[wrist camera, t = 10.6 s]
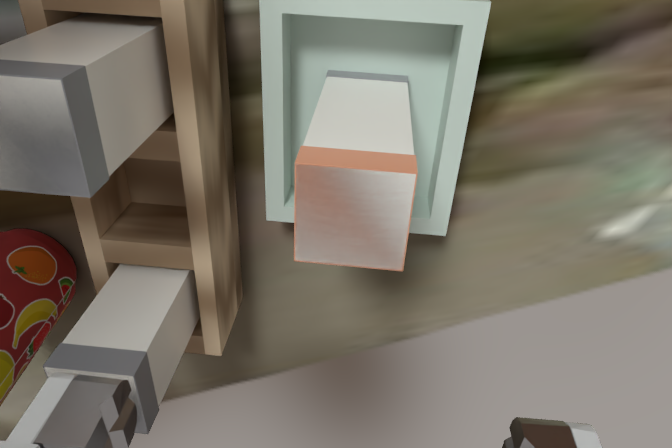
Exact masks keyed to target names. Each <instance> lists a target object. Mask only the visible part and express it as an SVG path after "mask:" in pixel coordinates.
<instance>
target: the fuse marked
mask: <svg viewBox="0 0 672 448" xmlns="http://www.w3.org/2000/svg"><path fill="white" fill-rule="evenodd" d="M408 83H409V80H408V76H404V75H391V74H378V73H365V72H351V71H338V70H328V71H327V74H326V81H325V84H324V86H323V89H322V92H321V95H320V98H319V101H318V104H317V106H316V109H315V112H314V115H313V118H312V121H311V123H310V126H309V129H308V132H307V135H306V138H305V140H304V143H303V146H301V147H300V149H299V152H298V155H297V158H296V160H295V193H294V261H298V262H309V263H320V264H330V265H341V266H352V267H362V268H373V269H384V270H394V271H403V268H404V261H405V255H406V248H407V241H408V235H409V228H410V221H411V215H412V208H413V202H414V195H415V188H416V182H417V175H418V170H417V160H416V155H414V147H413V136H412V125H411V115H410V104H409V93H408Z"/></svg>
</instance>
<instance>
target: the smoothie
mask: <svg viewBox="0 0 672 448" xmlns="http://www.w3.org/2000/svg"><path fill="white" fill-rule="evenodd" d="M76 278H77V277H76V266H75V264H74V261H73V259H72V257H71V256H70V254H69V253H68V252H67V250H66V249H65V248H64V247H63V246H62V245H60V244H59V243H58V242H57V241H56V240H54V239H53V238H51V237H49V236H47V235H45V234H43V233H41V232H38V231H34V230H30V229H12V230H9V231H6V232H0V406H1V404H2V403H3V401H4V400H5V398H6V397H7V395H8V394H9V392H10V391H11V389H12V388H13V386H14V385H15V383H16V382H17V380H18V379H19V378H20V376H21V375H22V373H23V372H24V370H25V369H26V367H27V366H28V364H29V363H30V361H31V360H32V358H33V357H34V355H35V354H36V352H37V351H38V349H39V348H40V346H41V345H42V343H43V342H44V340H45V339H46V337H47V336H48V334H49V333H50V332H51V330H52V329H53V327H54V326H55V324H56V323H57V321H58V320H59V318H60V317H61V315H62V314H63V312H64V311H65V309H66V308H67V306H68V305H69V303H70V302H71V300H72V298H73V296H74V294H75V280H76Z"/></svg>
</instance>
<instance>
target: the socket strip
mask: <svg viewBox="0 0 672 448" xmlns="http://www.w3.org/2000/svg"><path fill="white" fill-rule="evenodd" d="M18 2H19V6H20V10H21V13H22V17H23V21H24V25H25V28H26V32H27V35H28V34H30V33H33V32H36V31H38V30H41V29H44V28H46V27H49V26H52V25H54V24H57V23H60V22H62V21H65V20H67V19H70V18H73V17H75V16H78V15H81V14H83V13H86V12H88V13H103V14H117V15H132V16H147V17H161V18H162V22H163V30H164V38H165V45H166V53H167V61H168V69H169V76H170V84H171V92H172V100H173V107H174V112H173V113H172V114H171V115H170V116H169V117H168V118H167V119H166V120H165V121H164V122H163V123H162V124H161V125H160V126H159V127H158V128H157V129H156V130H155V131H154V132H153V133H152V134H151V135H150V136H149V137H148V138H147V139H146V140H145V141H144V142H143V143H142V144H141V145H140V146H139V147H138V148H137V149H136V150H135V151H134V152H133V153H132V154H131V155H130V156H129V157H128V158H127V159H126V160H125V161H124V162H123V163H122V164H121V165H120V166H119V167H118V168H117V169H116V170H115V171H114V172H113V173H112V174H111V175H110V176H109V180H108V181H107V182H106V183H105V184H104V185H103V186H102V187H101V188H100V189H99V190H98V191H97V192H96V193H95V194H94V195H93V196H92V197H91V198H88V197H76V196H70V197H71V201H72V205H73V208H74V212H75V216H76V220H77V223H78V227H79V231H80V235H81V238H82V242H83V246H84V250H85V253H86V257H87V261H88V265H89V268H90V272H91V276H92V280H93V283H94V287H95V291H96V295H98V293H99V292H100V290H101V289H102V288H103V286H104V285H105V284H106V282H107V281H108V280H109V278H110V277H111V276H112V274H113V273H114V271H115V270H116V269H117V267H118V266H119V265H120V263H122V264H133V265H144V266H154V267H165V268H176V269H187V270H194V271H195V278H196V286H197V294H198V302H199V309H200V317H199V320H198V322H197V324H196V326H195V328H194V331H193V333H192V335H191V337H190V340H189V342H188V344H187V346H186V348H185V351H184V352H186V353H196V354H206V355H216V356H222V353H223V350H224V348H225V345H226V342H227V339H228V337H229V334H230V331H231V328H232V326H233V323H234V320H235V318H236V315H237V312H238V309H239V307H240V304H241V301H242V299H243V290H242V275H241V260H240V245H239V230H238V215H237V200H236V185H235V170H234V155H233V140H232V125H231V111H230V96H229V81H228V66H227V51H226V36H225V21H224V6H223V0H18Z"/></svg>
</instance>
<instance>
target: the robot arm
mask: <svg viewBox="0 0 672 448" xmlns="http://www.w3.org/2000/svg"><path fill="white" fill-rule="evenodd" d="M130 392H131V387H130V384H129V381H128V380H124V379H115V378H107V377H98V376H90V375H81V374H73V373H63V372H55V373H54V374H53V375H51V376H50V377H49V378H48V379H47V380H46V382H45V383H44V385H43V386H42V388H41V389H40V391H39V392H38V394H37V395H36V397H35V398H34V400H33V401H32V403H31V404H30V405H29V407H28V408H27V410H26V411H25V413H24V414H23V416H22V417H21V419H20V420H19V422H18V423H17V425H16V426H15V428H14V429H13V431H12V432H11V434H10V435H9V436H8V438H7V439H6V441H3V440H0V448H128V447H129V445H130V443H131V440H132V438H133V436H134V432H135V428H136V424H137V408H136V404H135V403H134V402H133V401H132V400H131V399H130V398H128V396H129V394H130ZM510 431H511V437H510V438H508V439H506V440H505V441H504V444H503V447H502V448H602V445H601V442H600V440H599V437H598V435H597V432H596V430H595V429H594V428H593V427H592V425H589V424H581V423H567V422H563V421H554V420H542V419H530V418H518V417H516V418H515V419H514V420H513V421H512V423H511V426H510Z"/></svg>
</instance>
